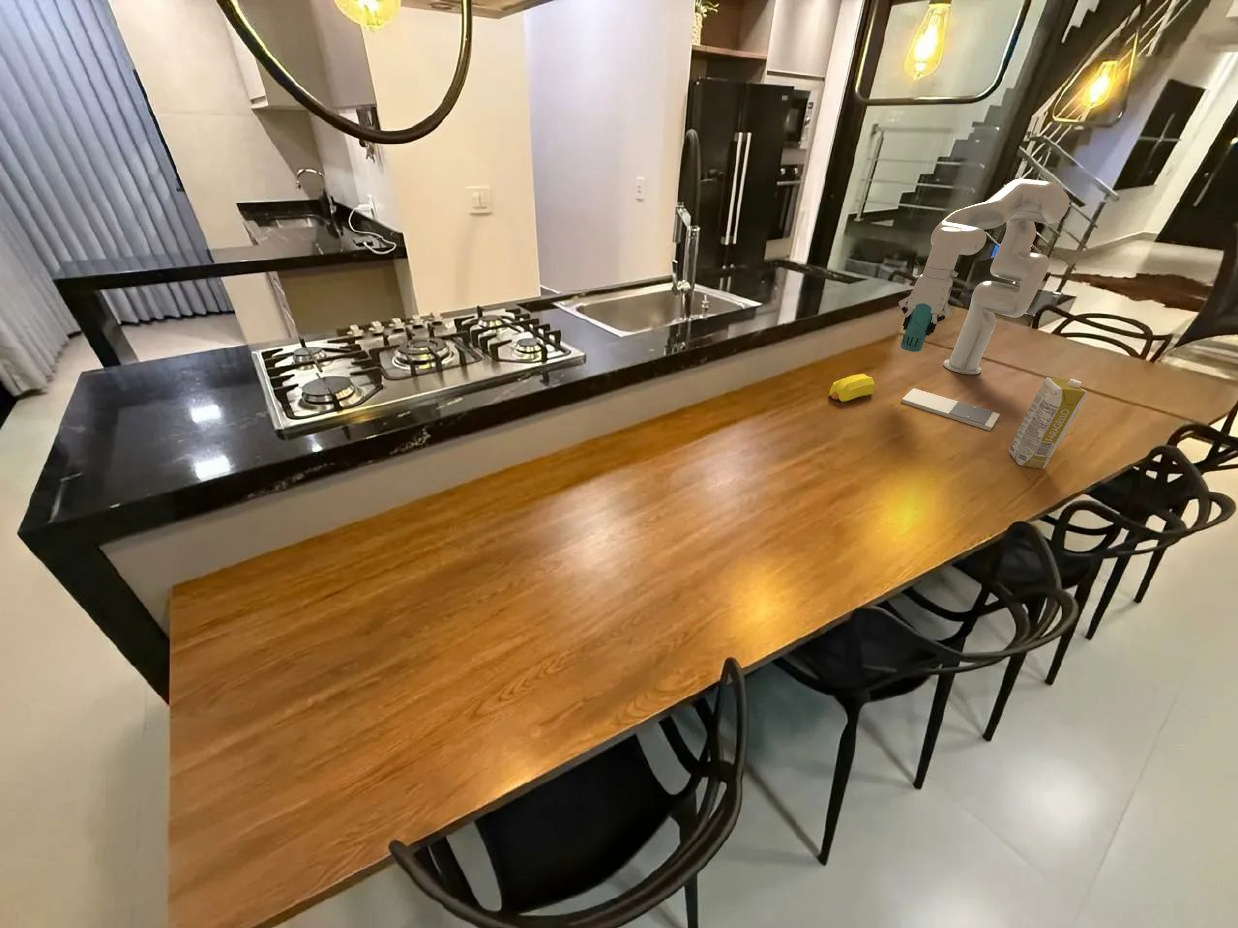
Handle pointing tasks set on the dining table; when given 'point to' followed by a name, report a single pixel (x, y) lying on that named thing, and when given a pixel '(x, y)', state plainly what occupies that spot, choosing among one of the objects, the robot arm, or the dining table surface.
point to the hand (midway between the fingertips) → (917, 331)
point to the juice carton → (1047, 421)
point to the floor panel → (951, 408)
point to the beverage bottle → (917, 328)
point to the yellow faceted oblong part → (852, 387)
